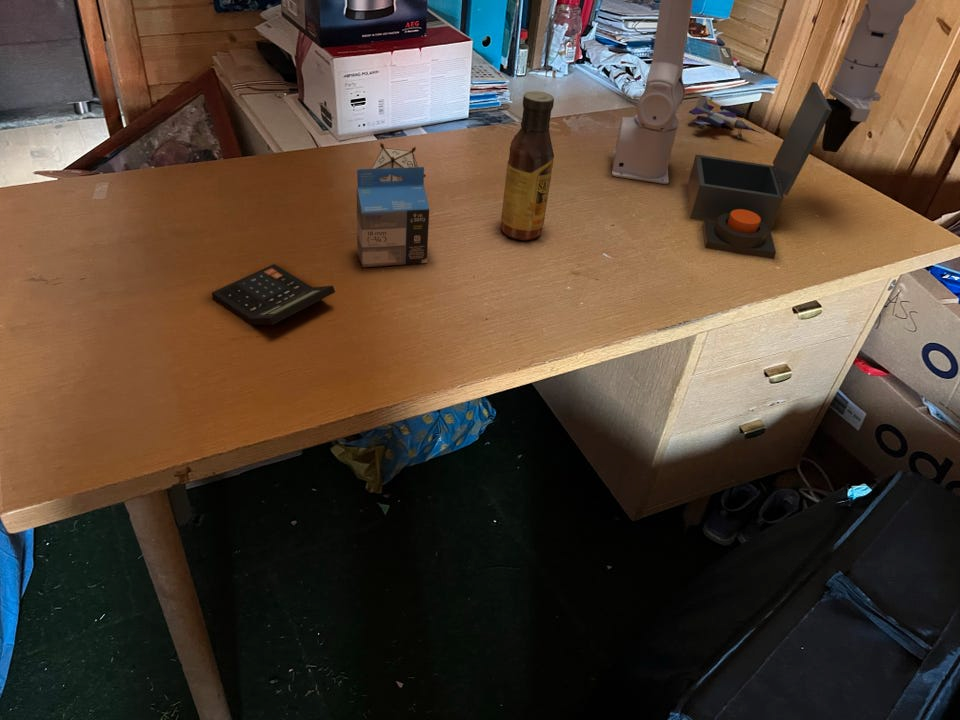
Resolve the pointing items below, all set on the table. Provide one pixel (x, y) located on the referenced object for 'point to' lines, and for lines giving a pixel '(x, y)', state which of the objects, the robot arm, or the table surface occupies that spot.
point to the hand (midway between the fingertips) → (829, 149)
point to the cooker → (733, 189)
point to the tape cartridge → (392, 217)
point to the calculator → (269, 296)
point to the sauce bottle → (529, 170)
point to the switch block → (738, 238)
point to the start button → (744, 221)
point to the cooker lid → (801, 137)
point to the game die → (394, 161)
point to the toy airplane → (719, 117)
